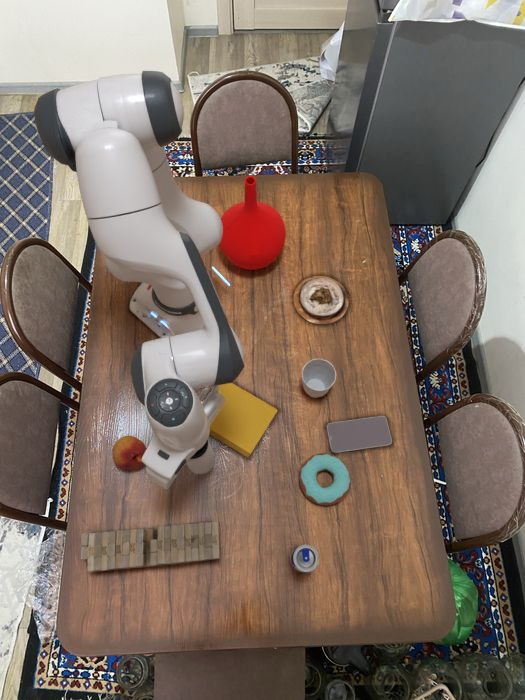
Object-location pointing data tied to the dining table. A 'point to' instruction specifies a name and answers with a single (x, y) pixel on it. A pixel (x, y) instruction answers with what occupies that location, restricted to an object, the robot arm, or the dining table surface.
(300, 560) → the beverage can
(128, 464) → the fruit
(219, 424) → the yellow box
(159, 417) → the robot arm
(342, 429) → the smartphone
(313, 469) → the donut
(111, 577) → the dining table surface
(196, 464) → the travel mug
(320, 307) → the cake on gold board
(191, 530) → the block tower
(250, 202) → the vase
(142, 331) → the dining table surface
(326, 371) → the cup
